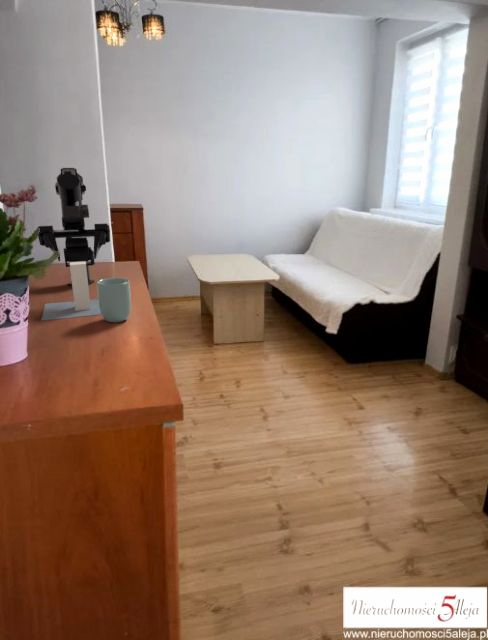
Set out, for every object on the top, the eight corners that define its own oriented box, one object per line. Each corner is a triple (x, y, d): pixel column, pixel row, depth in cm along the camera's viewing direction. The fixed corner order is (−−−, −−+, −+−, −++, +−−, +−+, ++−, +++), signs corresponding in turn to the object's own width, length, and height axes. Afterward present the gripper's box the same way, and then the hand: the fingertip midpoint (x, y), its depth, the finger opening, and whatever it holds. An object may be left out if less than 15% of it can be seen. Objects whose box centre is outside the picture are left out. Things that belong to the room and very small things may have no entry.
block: (75, 306, 126) (69, 262, 122) (90, 305, 127) (85, 261, 124) (75, 310, 123) (69, 264, 119) (90, 309, 124) (85, 263, 120)
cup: (102, 326, 110) (97, 286, 107) (99, 317, 117) (95, 279, 114) (134, 322, 113) (131, 283, 110) (129, 314, 120) (126, 276, 117)
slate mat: (45, 304, 129) (45, 303, 129) (118, 298, 135) (118, 297, 135) (41, 321, 115) (41, 320, 115) (123, 313, 121) (123, 312, 121)
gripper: (32, 195, 121) (35, 242, 114) (105, 193, 127) (112, 239, 120) (38, 222, 130) (41, 267, 124) (106, 220, 136) (113, 263, 130)
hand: (77, 259), depth 124 cm, fingers open, 9 cm apart
